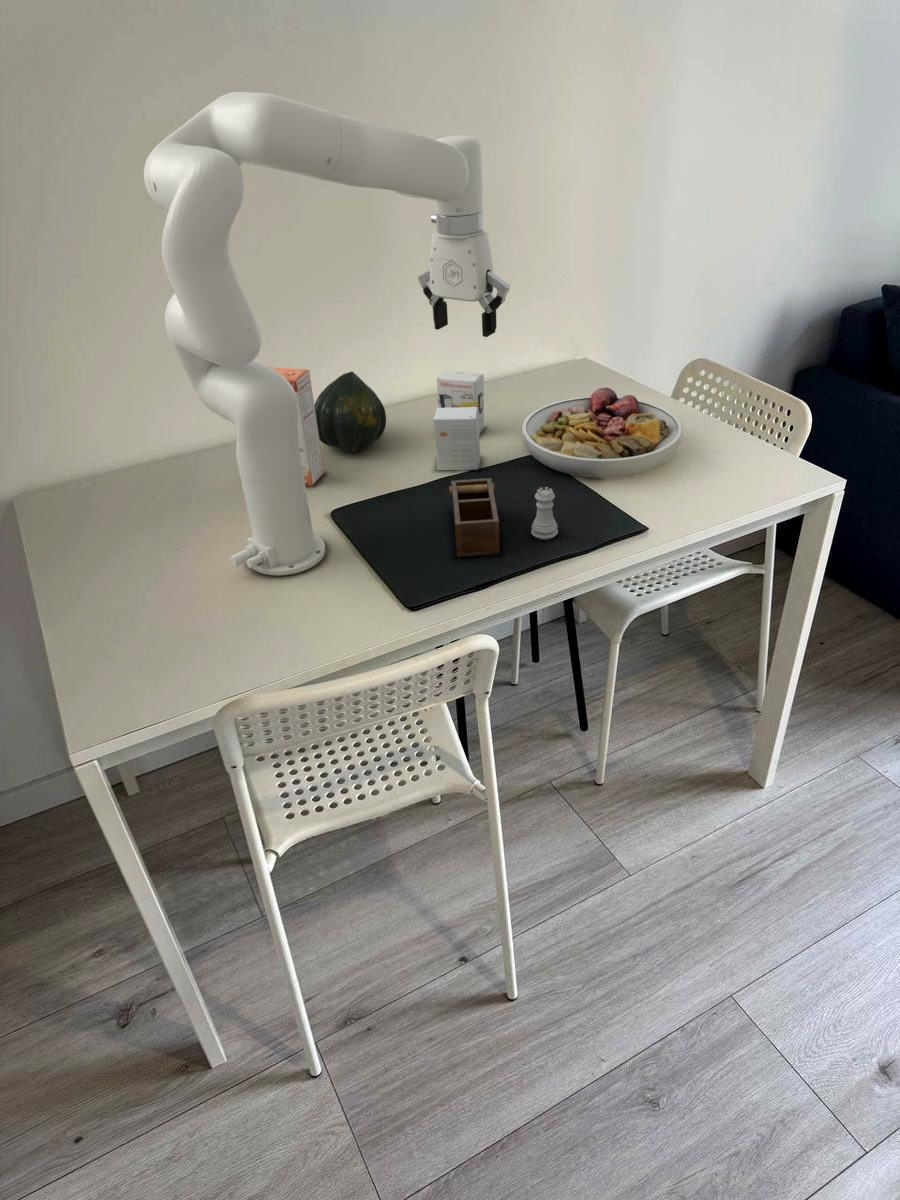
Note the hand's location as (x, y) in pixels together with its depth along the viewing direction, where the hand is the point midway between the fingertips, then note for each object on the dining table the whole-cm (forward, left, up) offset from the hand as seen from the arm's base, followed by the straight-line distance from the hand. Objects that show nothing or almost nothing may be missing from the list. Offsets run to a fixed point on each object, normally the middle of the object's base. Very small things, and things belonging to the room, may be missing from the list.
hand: (464, 330), depth 148 cm
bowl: (+22, -14, -27) cm, 38 cm away
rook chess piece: (-10, -25, -27) cm, 38 cm away
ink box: (+13, +14, -27) cm, 33 cm away
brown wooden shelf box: (-16, -15, -27) cm, 35 cm away
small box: (+1, +4, -27) cm, 27 cm away
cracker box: (-23, +27, -27) cm, 45 cm away
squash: (-5, +28, -27) cm, 39 cm away
